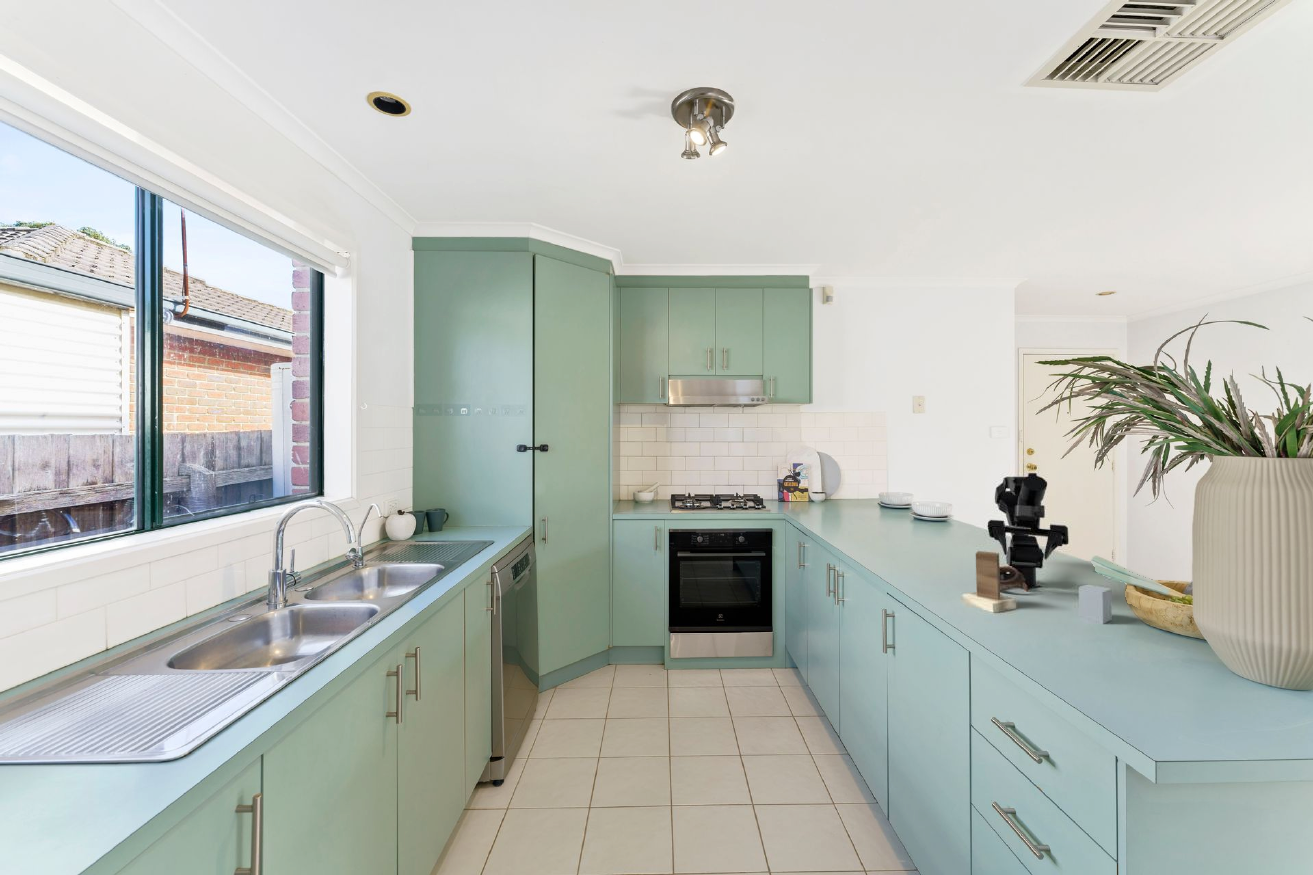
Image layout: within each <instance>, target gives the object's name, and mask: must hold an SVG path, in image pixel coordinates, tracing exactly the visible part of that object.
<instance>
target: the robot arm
mask: <svg viewBox="0 0 1313 875" xmlns="http://www.w3.org/2000/svg"><path fill="white" fill-rule="evenodd" d="M1047 487H1048V481H1047V480H1046V479H1044V478H1043V477H1042V476H1039V475H1038V474H1037V473H1036V472H1028V473H1027V476H1006V477H1003V480H1002V482H1001V483H1000V484H999V485H998V486H996V488H995V491H994V492H995V493H994V502H995V504H996V505H997V508H998V510H999V511H1000V512H1002V513H1004V514H1005V517H1006V521H1007V524H1008V525H1006V524H1005V521H1004V520H998V519H990V520H988V521H987V530H988V536H989V538H993V539H994V540H995V541H998V542H999V544H1000V545H1001V548H1002V552H1003V554H1004V555H1005V558H1006V559H1005V560H1006V561H1005V562H1006V564H1007V565H1008V566H1009V567H1013V568H1015V569H1017V570H1018V572H1020V573H1021V574H1022V575H1023V576H1024V578H1025V581H1024V582H1025V583H1026V585H1027V586H1028V590H1029V589H1030V590H1031V589H1036V588H1041V587H1042V585H1041V584H1040V583H1039V584H1038V583H1037V569H1043V567H1044V566H1043V565H1044V564H1043V562H1044V560H1048V558H1049V557H1050V555H1051V554H1052V552H1054V551H1055V550H1056V549H1057V548H1058V547H1062V546H1064V545H1065V546H1067V545H1069V541H1070V538H1069V537H1070V536H1069V527H1068V526H1067V525H1066V524H1053V523H1052V524H1049V528H1048V529H1047V528H1040V527H1041V518H1042V519H1045V516H1046V512H1045V508H1046V507H1045V505H1043V504H1042V501H1043V499H1044V498H1045V494H1046V490H1047ZM1007 489H1009V490H1007ZM1006 534H1010V535H1011V539H1010V543H1009V546H1007V538H1006V537H1007V536H1006ZM1037 537H1044V538H1047V539H1046V545H1045V549H1044V552H1043V549H1042V548H1040V546H1039V543H1038V539H1037Z"/></svg>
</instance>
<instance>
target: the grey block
mask: <svg viewBox="0 0 1313 875" xmlns="http://www.w3.org/2000/svg"><path fill="white" fill-rule="evenodd" d="M1112 609H1113V608H1112V589H1111V588H1108V587H1102V586H1098V585H1094V584H1093V585H1092V584H1085V585H1081V586H1079V587H1078V618H1079V619H1081V620H1085V621H1088V622H1092V621H1093V623H1096V624H1100V623H1102V624H1101V625H1104V624H1106V622H1107V621H1109V622H1110V620H1111V619H1112V620H1113V616H1112V615H1113V614H1112V611H1113V610H1112ZM1112 620H1111V621H1112ZM1103 623H1104V624H1103ZM1107 623H1108V622H1107Z"/></svg>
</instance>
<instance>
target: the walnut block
mask: <svg viewBox="0 0 1313 875" xmlns="http://www.w3.org/2000/svg"><path fill="white" fill-rule="evenodd" d="M999 567H1000V553H999V552H994V551H983V550H977V552H976V553H975V575H976V576H975V577H976V579H975V580H976V592H977V596H978V597H984V598H991V599H997V600H998V599H999V597H1000V595H1001V589H1000V568H999Z"/></svg>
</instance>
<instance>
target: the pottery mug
mask: <svg viewBox="0 0 1313 875" xmlns="http://www.w3.org/2000/svg"><path fill="white" fill-rule="evenodd" d="M999 568H1000V590H1007V589H1014V588H1021V589H1024V590H1025V592H1029V589H1028V586H1027V585H1026V583H1025V582H1024V581H1025V578H1024V576H1023V575H1022V574H1021V573H1020V572H1018V570H1017V569H1015V568H1013V567H1012V566H1009V565H1008V566H1005V565H1004V566H999Z"/></svg>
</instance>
